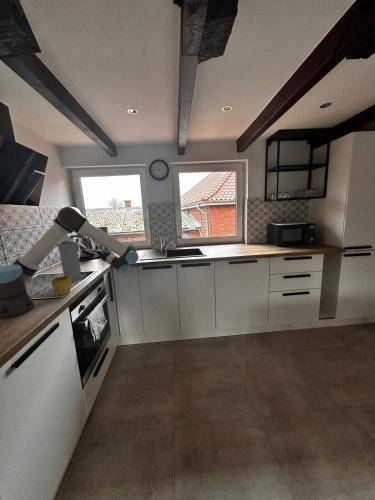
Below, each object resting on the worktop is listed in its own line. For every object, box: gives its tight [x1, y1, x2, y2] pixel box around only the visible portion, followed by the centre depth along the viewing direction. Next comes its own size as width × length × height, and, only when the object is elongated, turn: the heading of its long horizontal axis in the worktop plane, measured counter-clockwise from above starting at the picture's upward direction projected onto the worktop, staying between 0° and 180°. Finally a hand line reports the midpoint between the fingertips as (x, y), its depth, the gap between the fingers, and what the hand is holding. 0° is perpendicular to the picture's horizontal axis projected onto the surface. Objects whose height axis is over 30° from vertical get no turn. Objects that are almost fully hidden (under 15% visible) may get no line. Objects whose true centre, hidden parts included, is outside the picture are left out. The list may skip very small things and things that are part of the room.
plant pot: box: [50, 275, 73, 296], centre depth 123 cm, size 10×10×10 cm
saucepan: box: [60, 234, 85, 244], centre depth 143 cm, size 17×9×5 cm, turn 81°
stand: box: [55, 241, 85, 283], centre depth 147 cm, size 10×10×28 cm
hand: (85, 242), depth 139 cm, fingers open, 13 cm apart
